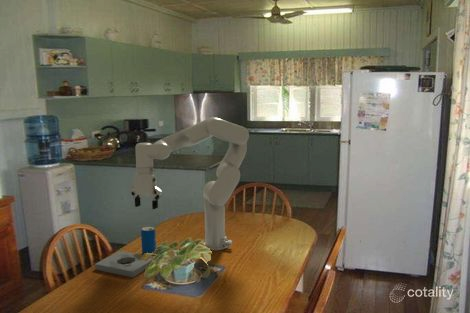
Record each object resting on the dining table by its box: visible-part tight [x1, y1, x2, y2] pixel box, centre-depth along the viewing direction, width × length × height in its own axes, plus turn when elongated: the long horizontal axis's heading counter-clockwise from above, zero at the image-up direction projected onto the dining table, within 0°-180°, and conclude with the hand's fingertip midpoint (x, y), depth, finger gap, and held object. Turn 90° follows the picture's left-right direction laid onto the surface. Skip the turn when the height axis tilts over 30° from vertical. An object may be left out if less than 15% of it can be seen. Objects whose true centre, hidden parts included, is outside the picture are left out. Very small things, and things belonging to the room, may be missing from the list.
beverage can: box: [140, 226, 157, 254], centre depth 194 cm, size 6×6×12 cm
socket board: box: [94, 250, 153, 279], centre depth 181 cm, size 20×16×2 cm
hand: (146, 207), depth 192 cm, fingers open, 9 cm apart
